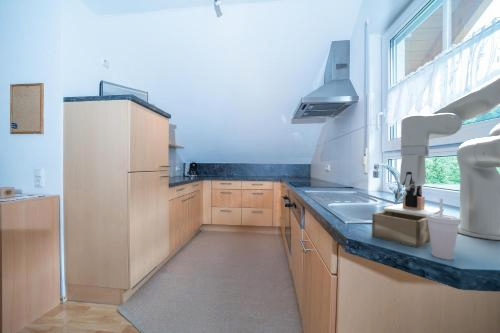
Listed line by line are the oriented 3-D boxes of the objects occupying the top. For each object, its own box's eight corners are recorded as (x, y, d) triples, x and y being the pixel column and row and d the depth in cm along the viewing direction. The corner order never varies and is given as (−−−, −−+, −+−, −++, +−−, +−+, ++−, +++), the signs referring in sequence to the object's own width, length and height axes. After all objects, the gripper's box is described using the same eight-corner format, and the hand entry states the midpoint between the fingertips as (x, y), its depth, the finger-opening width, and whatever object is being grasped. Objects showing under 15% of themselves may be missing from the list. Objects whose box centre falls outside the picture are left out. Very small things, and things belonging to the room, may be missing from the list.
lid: (400, 205, 82) (401, 193, 82) (443, 211, 73) (443, 197, 73) (383, 210, 72) (383, 196, 72) (429, 217, 63) (430, 201, 63)
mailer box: (391, 227, 77) (392, 208, 77) (435, 236, 67) (435, 214, 67) (372, 236, 67) (372, 213, 67) (419, 248, 57) (419, 222, 57)
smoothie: (445, 251, 55) (446, 197, 55) (468, 262, 49) (469, 201, 49) (419, 250, 56) (419, 196, 56) (438, 261, 49) (439, 200, 49)
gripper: (409, 153, 81) (408, 202, 81) (392, 151, 70) (391, 207, 70) (435, 153, 75) (434, 205, 75) (420, 150, 64) (419, 211, 64)
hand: (413, 205), depth 73 cm, fingers closed on lid, 4 cm apart
